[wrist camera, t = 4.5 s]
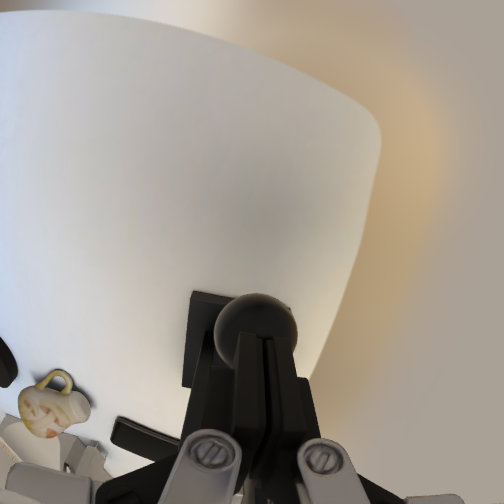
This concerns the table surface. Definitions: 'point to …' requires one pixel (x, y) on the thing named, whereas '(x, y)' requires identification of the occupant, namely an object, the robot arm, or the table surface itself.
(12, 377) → the figurine
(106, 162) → the table surface
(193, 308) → the bracket
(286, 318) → the lever
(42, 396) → the mug
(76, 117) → the table surface
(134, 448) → the smartphone
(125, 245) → the table surface
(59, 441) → the skate ramp
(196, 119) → the table surface
